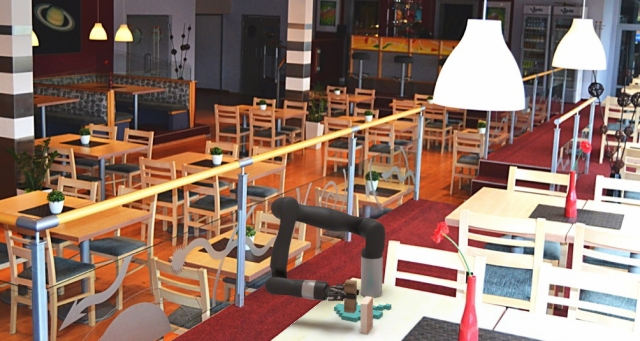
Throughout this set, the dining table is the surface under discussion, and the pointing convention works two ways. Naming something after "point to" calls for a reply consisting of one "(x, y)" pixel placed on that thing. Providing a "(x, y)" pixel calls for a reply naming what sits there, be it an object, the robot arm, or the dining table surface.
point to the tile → (366, 314)
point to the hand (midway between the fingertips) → (357, 294)
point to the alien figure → (357, 315)
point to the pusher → (350, 304)
